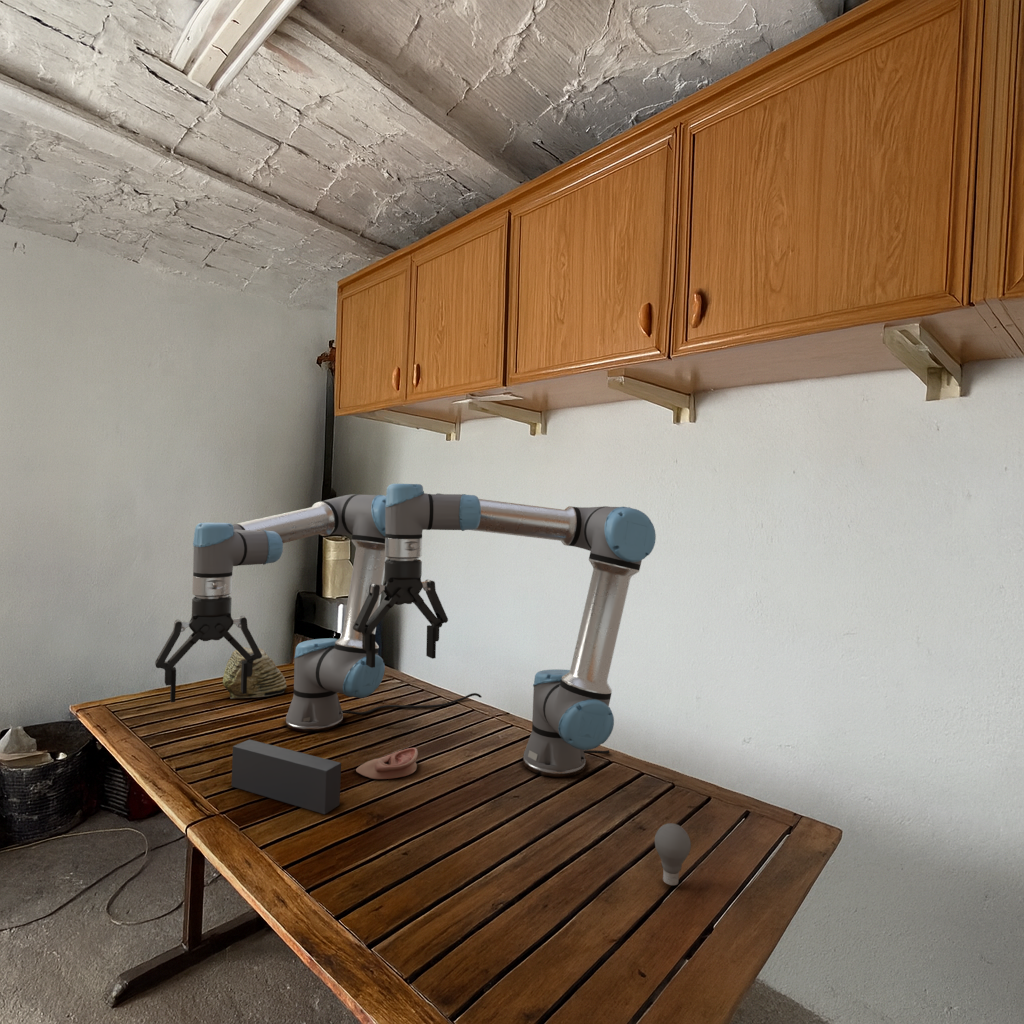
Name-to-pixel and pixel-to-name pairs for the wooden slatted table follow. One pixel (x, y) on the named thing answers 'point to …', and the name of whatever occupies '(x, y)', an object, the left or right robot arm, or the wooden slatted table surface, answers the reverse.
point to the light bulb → (672, 850)
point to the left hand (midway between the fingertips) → (209, 696)
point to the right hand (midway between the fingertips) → (401, 661)
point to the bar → (287, 776)
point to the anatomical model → (390, 765)
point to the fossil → (253, 677)
